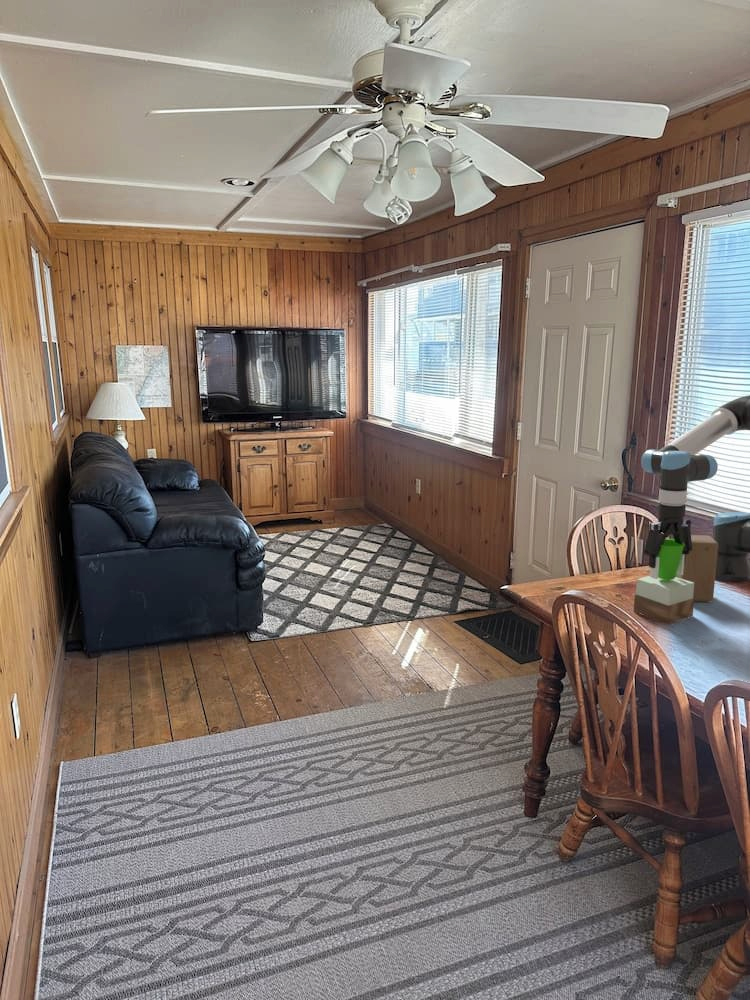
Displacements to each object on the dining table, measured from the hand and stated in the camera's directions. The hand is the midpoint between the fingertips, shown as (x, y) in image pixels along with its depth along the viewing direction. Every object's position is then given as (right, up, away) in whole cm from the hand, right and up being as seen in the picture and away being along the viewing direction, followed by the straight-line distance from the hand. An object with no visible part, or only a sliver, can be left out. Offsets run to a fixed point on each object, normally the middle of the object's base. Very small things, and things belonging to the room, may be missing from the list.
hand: (666, 575), depth 206 cm
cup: (0, -1, 0) cm, 1 cm away
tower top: (0, -6, +1) cm, 7 cm away
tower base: (0, -12, +2) cm, 13 cm away
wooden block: (+16, -9, +17) cm, 25 cm away
